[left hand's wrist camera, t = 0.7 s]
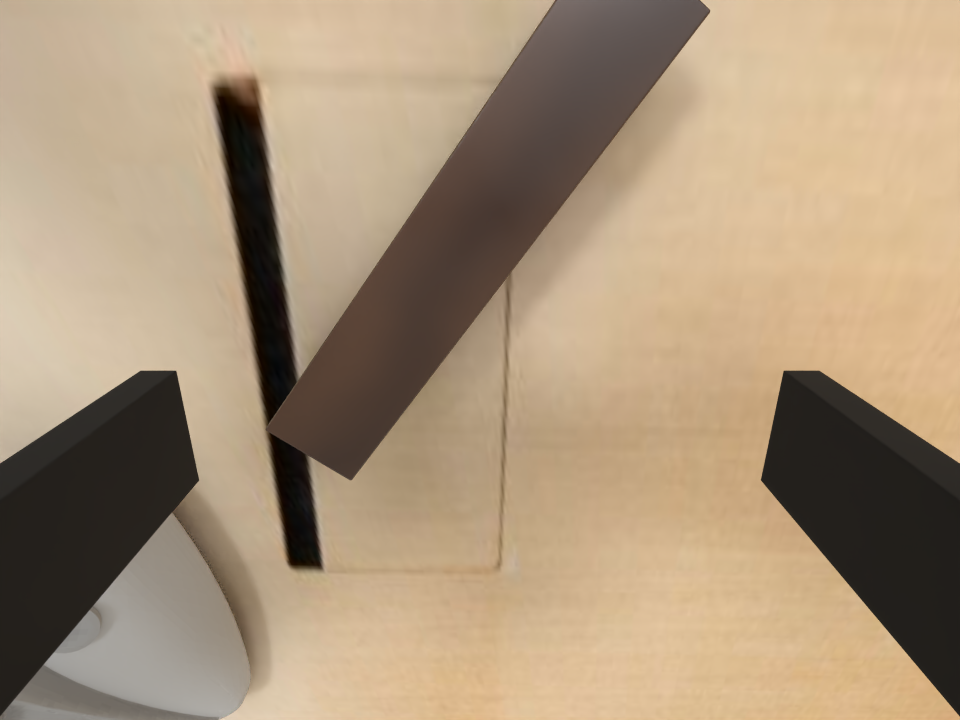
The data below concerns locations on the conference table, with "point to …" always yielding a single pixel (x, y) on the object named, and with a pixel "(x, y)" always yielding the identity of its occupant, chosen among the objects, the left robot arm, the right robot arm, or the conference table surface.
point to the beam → (481, 217)
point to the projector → (147, 646)
